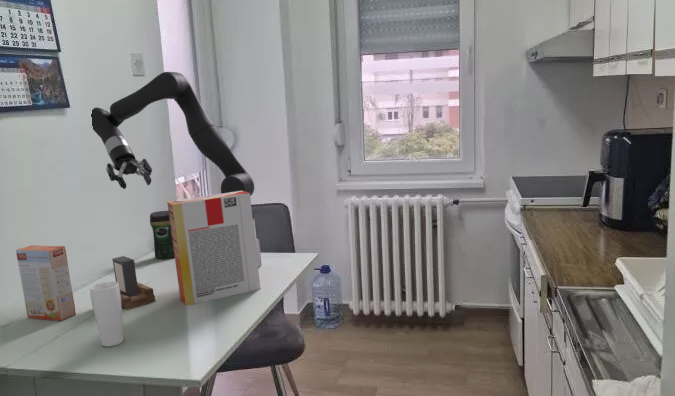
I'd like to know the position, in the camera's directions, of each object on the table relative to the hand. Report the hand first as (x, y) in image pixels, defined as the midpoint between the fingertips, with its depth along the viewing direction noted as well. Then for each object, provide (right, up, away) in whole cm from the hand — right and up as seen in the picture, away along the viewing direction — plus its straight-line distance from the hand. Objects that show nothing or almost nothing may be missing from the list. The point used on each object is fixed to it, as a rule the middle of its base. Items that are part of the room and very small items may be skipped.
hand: (137, 185), depth 198 cm
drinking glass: (+12, -41, -52) cm, 67 cm away
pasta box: (+32, -34, -20) cm, 51 cm away
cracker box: (-16, -39, -27) cm, 50 cm away
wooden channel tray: (+4, -36, -19) cm, 41 cm away
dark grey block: (+3, -34, -18) cm, 39 cm away
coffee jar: (+1, -28, +34) cm, 44 cm away
